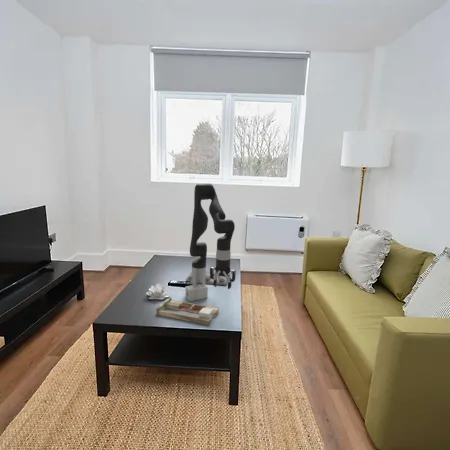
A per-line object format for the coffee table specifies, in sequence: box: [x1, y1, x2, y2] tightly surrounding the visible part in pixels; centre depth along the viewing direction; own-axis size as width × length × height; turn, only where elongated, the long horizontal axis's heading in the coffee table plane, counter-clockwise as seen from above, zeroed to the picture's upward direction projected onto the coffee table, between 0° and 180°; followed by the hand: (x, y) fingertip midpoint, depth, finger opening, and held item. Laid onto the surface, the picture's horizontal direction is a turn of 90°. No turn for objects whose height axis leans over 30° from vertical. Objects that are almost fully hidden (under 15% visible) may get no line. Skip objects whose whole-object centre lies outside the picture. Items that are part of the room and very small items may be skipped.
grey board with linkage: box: [185, 271, 228, 286], centre depth 233 cm, size 30×22×7 cm
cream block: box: [198, 308, 214, 322], centre depth 174 cm, size 6×6×5 cm
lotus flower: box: [145, 282, 170, 300], centre depth 199 cm, size 14×15×9 cm
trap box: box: [155, 296, 220, 326], centre depth 179 cm, size 16×32×4 cm, turn 73°
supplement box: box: [185, 284, 209, 302], centre depth 200 cm, size 7×7×13 cm
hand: (222, 287), depth 168 cm, fingers open, 7 cm apart
